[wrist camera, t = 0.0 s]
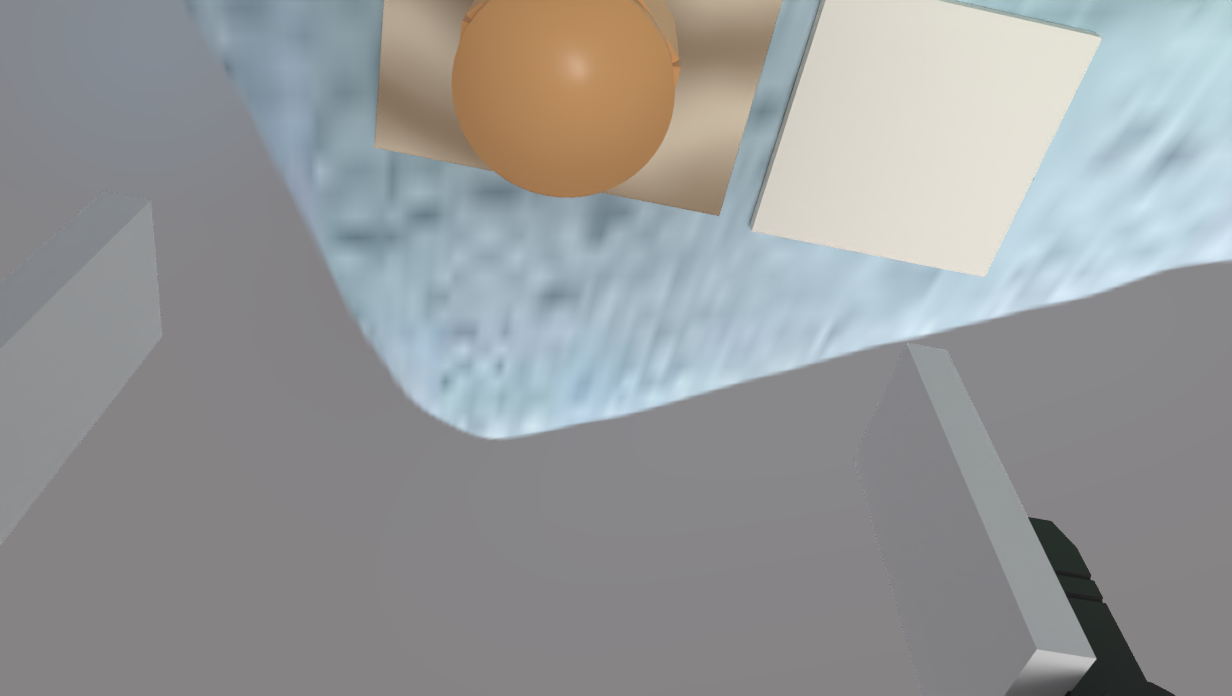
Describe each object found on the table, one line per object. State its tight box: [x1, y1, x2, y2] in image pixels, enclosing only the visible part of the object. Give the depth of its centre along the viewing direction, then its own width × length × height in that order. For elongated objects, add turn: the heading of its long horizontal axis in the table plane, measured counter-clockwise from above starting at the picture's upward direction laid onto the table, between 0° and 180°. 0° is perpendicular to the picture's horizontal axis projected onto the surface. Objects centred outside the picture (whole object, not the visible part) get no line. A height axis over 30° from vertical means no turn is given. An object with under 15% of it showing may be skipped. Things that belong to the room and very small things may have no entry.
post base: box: [375, 0, 783, 216], centre depth 35 cm, size 16×16×12 cm
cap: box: [452, 0, 680, 197], centre depth 32 cm, size 7×7×6 cm
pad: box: [750, 0, 1102, 277], centre depth 43 cm, size 12×12×1 cm
